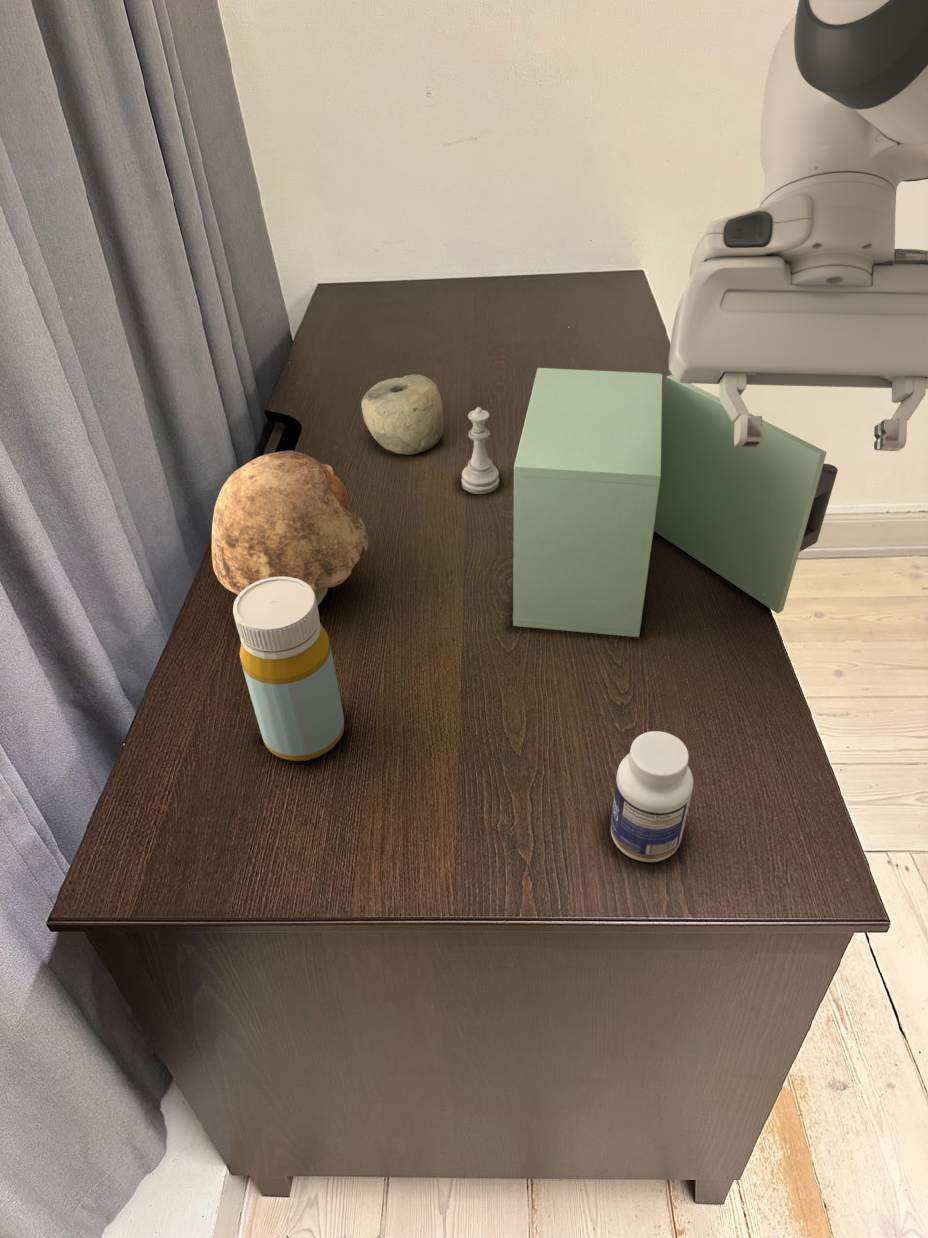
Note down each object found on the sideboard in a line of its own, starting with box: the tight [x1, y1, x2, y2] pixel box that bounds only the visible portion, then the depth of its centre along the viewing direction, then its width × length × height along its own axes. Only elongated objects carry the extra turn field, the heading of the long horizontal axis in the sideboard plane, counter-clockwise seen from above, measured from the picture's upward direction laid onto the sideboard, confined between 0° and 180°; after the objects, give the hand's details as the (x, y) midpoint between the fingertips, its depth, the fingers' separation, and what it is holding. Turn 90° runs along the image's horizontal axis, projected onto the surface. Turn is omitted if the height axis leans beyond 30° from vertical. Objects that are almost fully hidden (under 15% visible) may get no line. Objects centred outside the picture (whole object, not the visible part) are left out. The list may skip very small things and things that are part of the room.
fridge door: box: [653, 373, 839, 614], centre depth 86 cm, size 7×18×18 cm, turn 35°
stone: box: [360, 373, 444, 456], centre depth 110 cm, size 10×10×10 cm
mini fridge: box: [512, 367, 663, 638], centre depth 85 cm, size 12×18×18 cm, turn 170°
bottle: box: [232, 577, 345, 762], centre depth 71 cm, size 7×7×15 cm
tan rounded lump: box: [211, 450, 369, 607], centre depth 85 cm, size 15×16×15 cm
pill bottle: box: [610, 730, 694, 863], centre depth 64 cm, size 5×5×10 cm
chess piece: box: [461, 406, 500, 495], centre depth 101 cm, size 4×4×10 cm
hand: (818, 447), depth 60 cm, fingers open, 8 cm apart
